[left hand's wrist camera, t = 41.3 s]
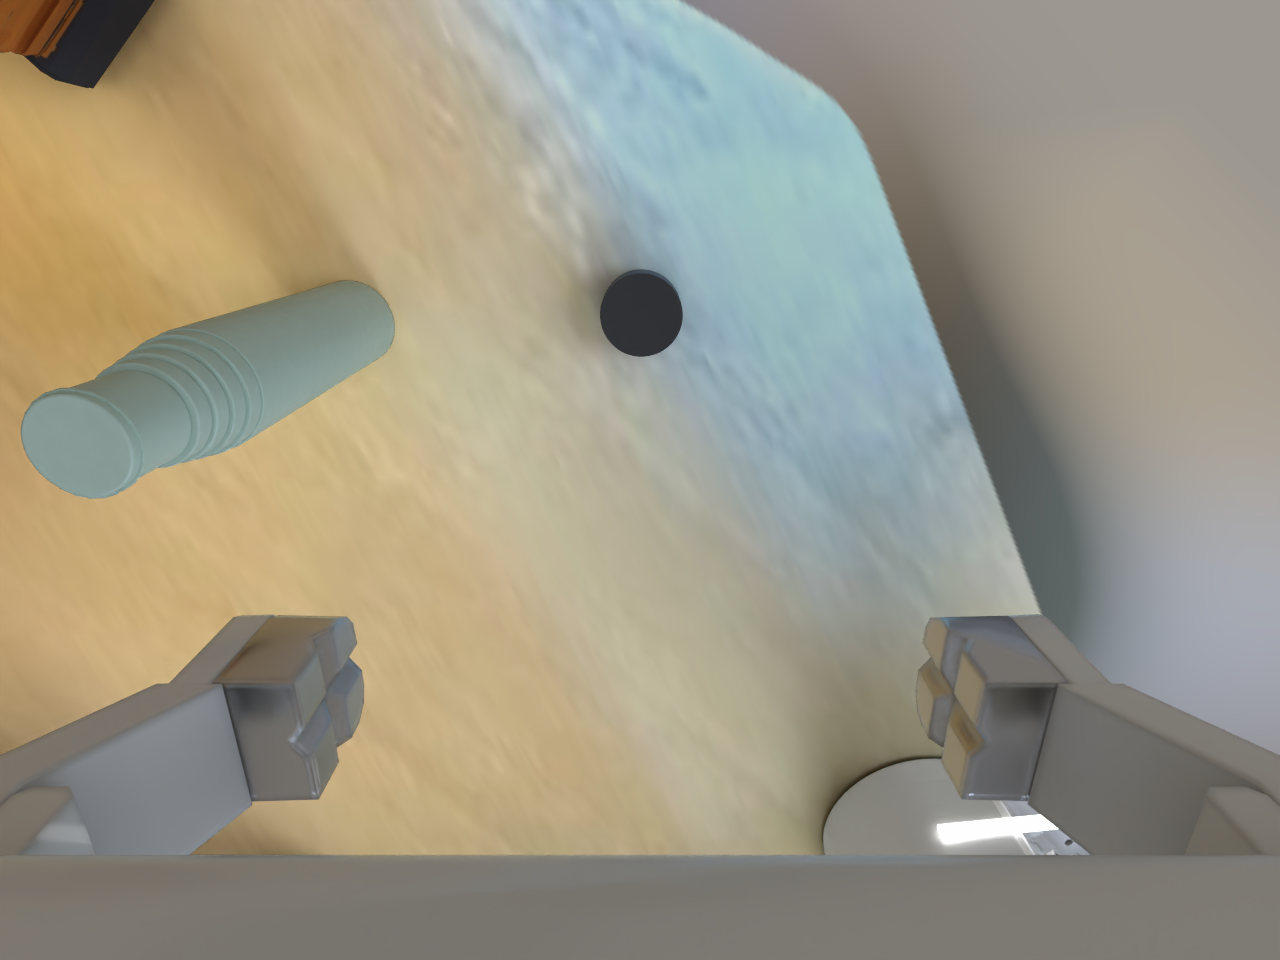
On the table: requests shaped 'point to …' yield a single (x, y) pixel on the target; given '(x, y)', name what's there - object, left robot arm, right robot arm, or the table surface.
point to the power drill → (69, 34)
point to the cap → (641, 313)
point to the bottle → (204, 387)
